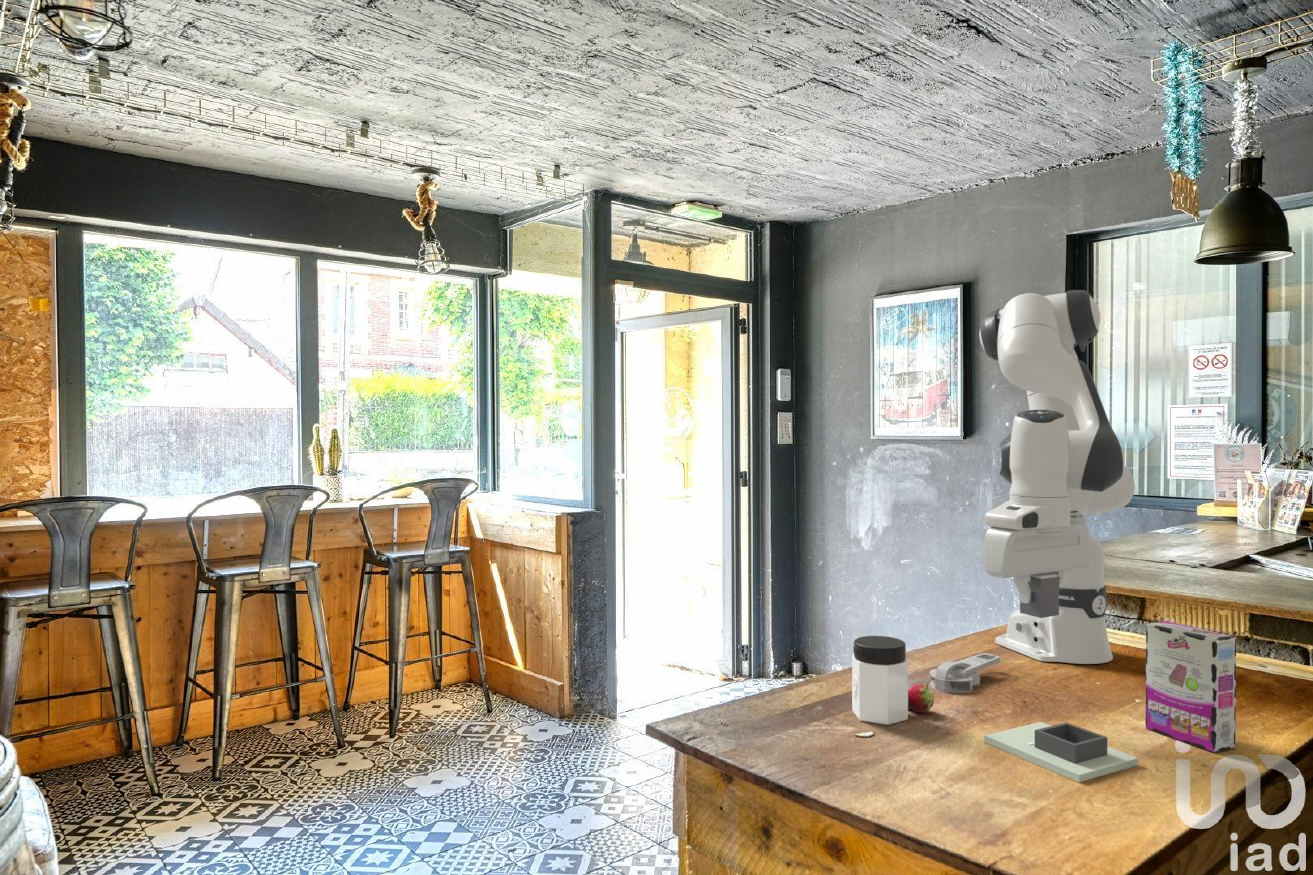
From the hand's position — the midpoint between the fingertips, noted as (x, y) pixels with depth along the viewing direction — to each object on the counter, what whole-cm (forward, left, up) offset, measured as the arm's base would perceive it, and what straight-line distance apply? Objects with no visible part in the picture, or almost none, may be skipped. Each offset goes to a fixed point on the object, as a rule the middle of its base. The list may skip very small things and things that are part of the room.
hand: (1038, 600), depth 138 cm
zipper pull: (-20, +5, -19) cm, 28 cm away
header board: (+11, -9, -19) cm, 23 cm away
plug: (0, 0, -2) cm, 2 cm away
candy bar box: (+16, +13, -19) cm, 28 cm away
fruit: (-12, -14, -19) cm, 27 cm away
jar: (-13, -21, -19) cm, 31 cm away
